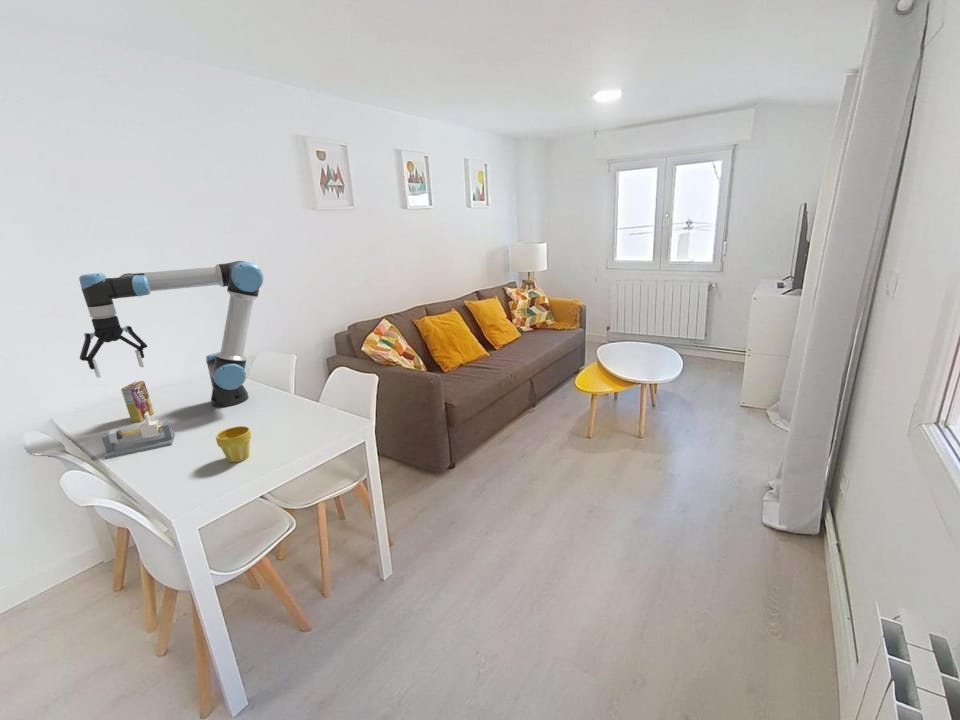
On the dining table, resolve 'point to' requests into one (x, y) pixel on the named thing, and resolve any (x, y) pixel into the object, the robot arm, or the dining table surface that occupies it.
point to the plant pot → (235, 443)
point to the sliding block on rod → (136, 441)
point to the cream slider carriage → (149, 427)
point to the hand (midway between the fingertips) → (120, 371)
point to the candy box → (137, 401)
